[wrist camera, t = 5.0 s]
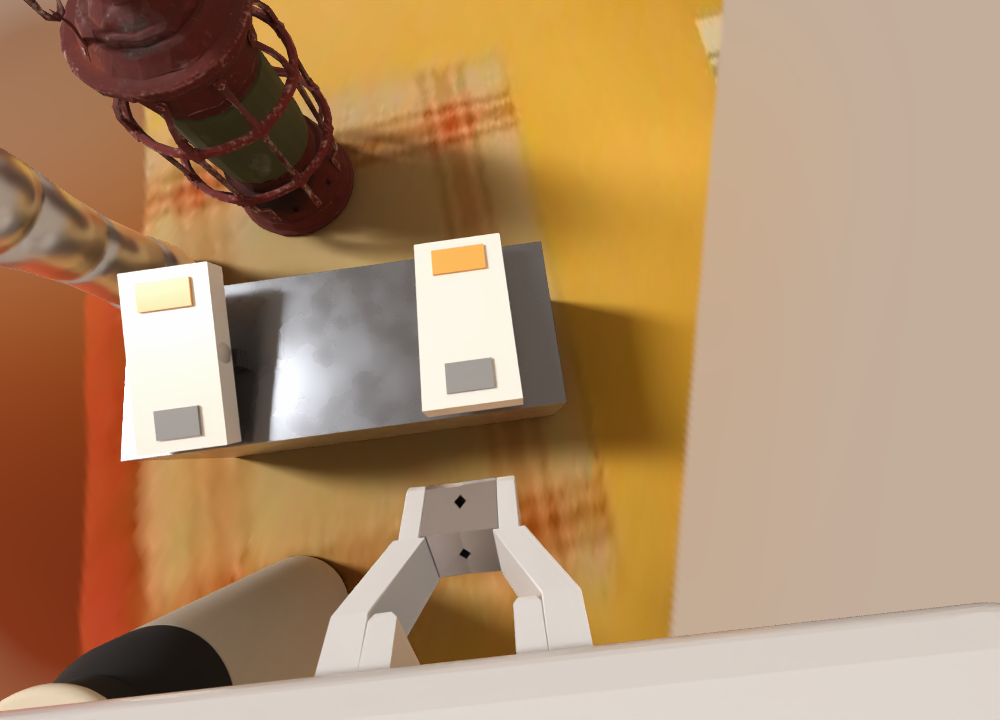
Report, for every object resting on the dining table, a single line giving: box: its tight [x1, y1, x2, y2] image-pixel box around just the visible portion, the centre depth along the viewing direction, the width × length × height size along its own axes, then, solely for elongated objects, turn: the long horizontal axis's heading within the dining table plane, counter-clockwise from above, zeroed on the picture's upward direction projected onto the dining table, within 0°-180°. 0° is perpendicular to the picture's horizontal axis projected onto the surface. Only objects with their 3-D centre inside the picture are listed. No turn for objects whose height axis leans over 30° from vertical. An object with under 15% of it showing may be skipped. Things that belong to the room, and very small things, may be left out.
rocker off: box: [117, 262, 241, 457], centre depth 23 cm, size 10×5×1 cm, turn 7°
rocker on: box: [414, 233, 523, 417], centre depth 23 cm, size 10×5×1 cm, turn 7°
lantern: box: [24, 0, 354, 236], centre depth 25 cm, size 12×12×30 cm
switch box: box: [121, 241, 567, 461], centre depth 30 cm, size 10×26×11 cm, turn 97°
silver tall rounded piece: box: [0, 148, 196, 310], centre depth 28 cm, size 6×7×20 cm
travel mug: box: [0, 556, 348, 711], centre depth 23 cm, size 8×8×18 cm
